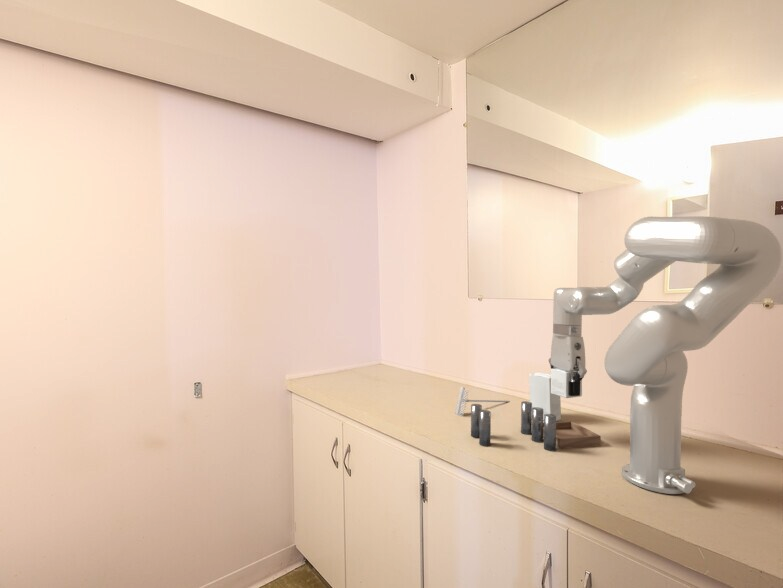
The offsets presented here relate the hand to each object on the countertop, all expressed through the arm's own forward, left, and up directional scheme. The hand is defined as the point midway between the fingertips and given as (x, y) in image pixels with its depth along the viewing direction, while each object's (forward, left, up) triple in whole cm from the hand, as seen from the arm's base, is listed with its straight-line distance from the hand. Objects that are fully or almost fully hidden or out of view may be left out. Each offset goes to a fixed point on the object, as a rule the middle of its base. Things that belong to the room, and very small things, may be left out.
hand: (565, 391), depth 112 cm
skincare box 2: (0, 0, -1) cm, 1 cm away
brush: (+31, +11, -14) cm, 36 cm away
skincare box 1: (+17, -4, -14) cm, 22 cm away
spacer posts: (0, +17, -13) cm, 22 cm away
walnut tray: (0, 0, -13) cm, 13 cm away
